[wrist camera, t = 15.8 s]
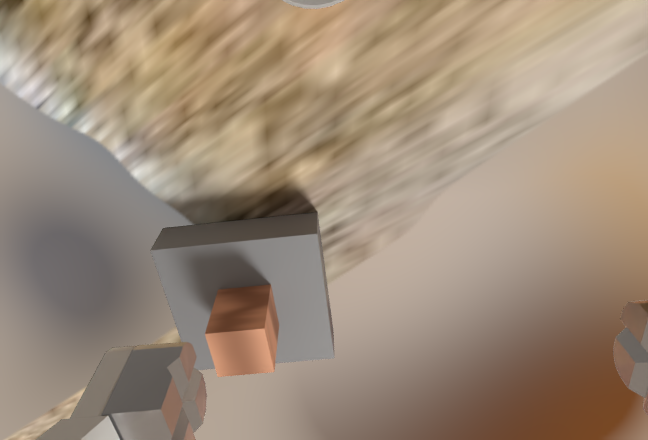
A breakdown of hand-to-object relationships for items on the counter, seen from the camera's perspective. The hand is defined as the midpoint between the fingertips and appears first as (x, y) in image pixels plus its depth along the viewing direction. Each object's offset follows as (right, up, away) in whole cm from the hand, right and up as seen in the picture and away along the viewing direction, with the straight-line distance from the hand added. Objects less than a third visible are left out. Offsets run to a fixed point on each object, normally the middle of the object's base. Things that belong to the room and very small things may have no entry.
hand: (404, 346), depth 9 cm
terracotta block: (-9, -6, +37) cm, 38 cm away
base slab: (-9, -4, +40) cm, 41 cm away
